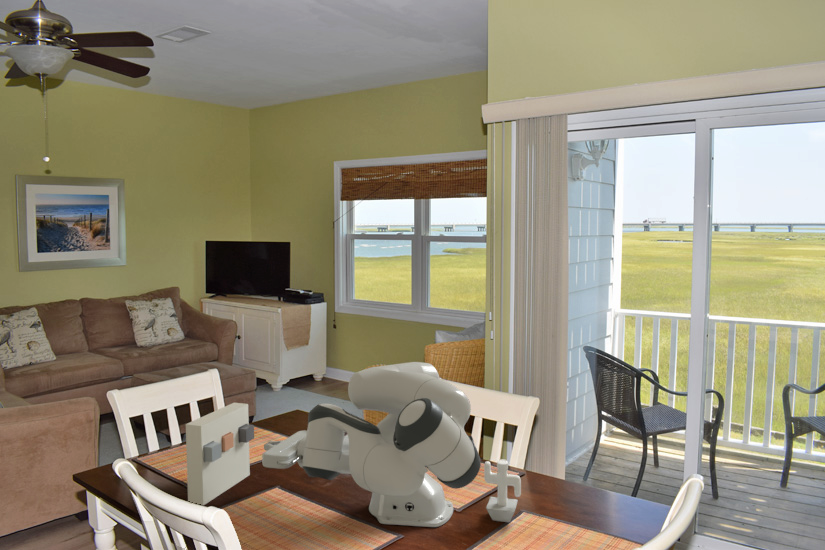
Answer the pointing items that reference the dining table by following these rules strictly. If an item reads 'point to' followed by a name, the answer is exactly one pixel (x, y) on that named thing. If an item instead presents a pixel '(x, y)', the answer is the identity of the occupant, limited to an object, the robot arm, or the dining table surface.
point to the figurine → (502, 491)
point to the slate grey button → (212, 451)
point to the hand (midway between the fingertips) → (266, 445)
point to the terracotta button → (227, 441)
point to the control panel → (233, 463)
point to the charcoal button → (246, 433)
